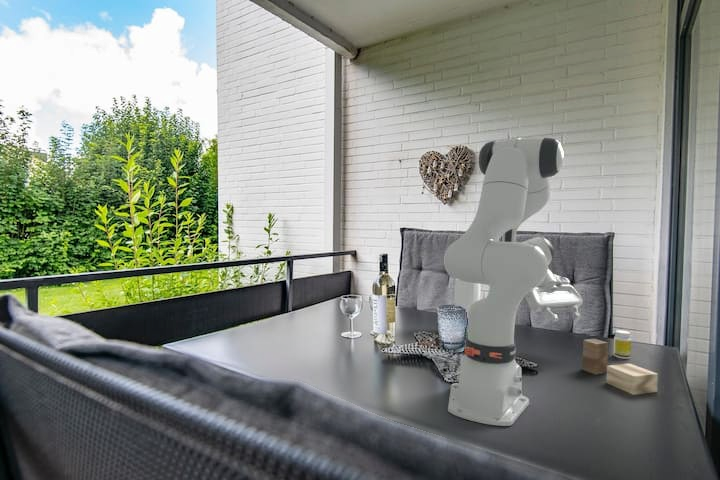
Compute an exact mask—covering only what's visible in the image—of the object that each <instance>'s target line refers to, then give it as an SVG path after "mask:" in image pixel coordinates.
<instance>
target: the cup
mask: <svg viewBox="0 0 720 480" xmlns="http://www.w3.org/2000/svg"><path fill="white" fill-rule="evenodd" d="M454 279H455V280H454V305H455V307H456V306H461V307H464V308H465V309H466V312H467V318H468V311H469V308H470V307H471V305H472V304H473V303H475V302H476V301H478V300H481V292H482V291H481V284H478V283H470V282H465V281H462V280H459V279H456V278H454Z"/></svg>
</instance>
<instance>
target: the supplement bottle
mask: <svg viewBox="0 0 720 480" xmlns="http://www.w3.org/2000/svg"><path fill="white" fill-rule="evenodd" d="M614 335H615V336H614V337H613V352H612V353H613V356H614V357H616V358H618V359H624V360H628V359H631V350H632V349H631V347H632V345H631V344H632V341H631V340H632V339H631V332H629V331H628V330H627V331H625V330H621V329H620V330H615V334H614Z"/></svg>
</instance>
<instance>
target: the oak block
mask: <svg viewBox="0 0 720 480" xmlns="http://www.w3.org/2000/svg"><path fill="white" fill-rule="evenodd" d="M658 375H659V374H658V372H654V371H651V370H649V369H646V368H643V367H640V366H638V365H635V364H632V363H621V364H611V365H607V373H606V381H605V382H606V384H608V385H611V386H612V387H615V388H618V389H619V390H622V391H623V392H626V393H628V394H630V395H633V396H634V395H635V396H636V395H644V394H649V393H657V392H658V377H659V376H658Z"/></svg>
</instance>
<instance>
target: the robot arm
mask: <svg viewBox="0 0 720 480" xmlns="http://www.w3.org/2000/svg"><path fill="white" fill-rule="evenodd" d="M564 155H565V154H564V150H563V148H562V144H561V142H560V141H559V140H558V139H555V138H551V137H550V138H549V137H544V138H527V137H526V138H520V137H518V138H507V139H503V140H492V141H489V142H486V143H485V144H484V145H483V146H482V147H481V149H480V151H479V155H478V169H479V170H480V172H481V173H482V174H483V175H484V176H483V180H482V187H481V192H480V198H479V203H478V207H477V210H476V213H475V217H474V219H473V221H472V222H471V224H470V226H469V227H468V228H467V230H466V231H465V232H464V233H463V235H462V236H460V237H459V238H458V239H457V240H455V241H454V242H451V243H450V245H448V246H447V248H446V249H445V253H444V256H443V266H444V269H445V271H446V272H447V275H448V276H450V277H451V278H454V279H459V280H462V281H465V282H470V283H478V284H480V285H488V286H489V290H488V294H487V296H486V297H484V298H482V299H481V298H480V300H478V301H476V302H475V303H473V304H472V305H471V307H470V308H469V311H468V327H467V336H466V337H465V342H464V351H463V352H464V354H463V355H462V356H461V357H460V360H459V361H460V368H459V370H460V372H459V375H457V376H456V377H455V380H456V382H455V383H452V384H451V385H450V391H449V399H448V405H447V411H448V412H449V413H450V414H452V415H454V416H456V417H459V418H461V419H464V420H469V421H472V422H476V423H479V424H484V425H490V426H497V427H498V426H502V427H507V426H508V427H510V426H512V425H513V424H514V423H515V422H516V420H517V419H518V418H519V417H520V415H521V414H522V413H524V411H525V410H526V408H527V407H528V406H529V405H530V399H529V398H528V397H527V396H525V395H523V394H522V367H521V366H520V364H518V362H517V361H516V359H515V358H516V352H517V348H516V342H515V337H514V336H515V324H516V316H517V311H518V308H519V306H520V304H521V302H522V301H523V299H524V298H525V300H526V302H527V305H528V307H529V308H530V310H532V312H542V313H543V314H544V315H545V316H546V317H548V318H549V319H550V320H551V322H553V323H554V322H558V321H559V320H560V318H559V316H558V314H556V313H554V312H552V311H561V310H569V311H570V312H571V313H572V315H571V317H572V319H573V320H574V321H575V320H580V319H581V318H582V316H581V314H580V313H579V307H580V306H582V305H583V302H584V301H583V298H582V297H581V295H580V294H579V292H578V291H577V290H576V288H575V287H574V286H573V285H571V281H570V279H569V278H567V277H563V276H560V275H558V274H555V273H553V272H552V270H551V269H550V268H549V265H550V264H551V263H552V262H553V259H554V257H555V255H556V251H555V248H554V246H553V245H552V243H551V242H550V240H549V239H547V238H546V237H543V236H537V237H533V238H529V239H527V240H525V241H521V242H519V241H516V240H517V233H518V232H517V231H518V229H519V228H520V226H521V225H522V224H523V223H525V221H527V220H528V219H529V218H531V217H532V216H534V215H535V214H537V213H538V212H540V211H541V210H542V209H544V207H545V206H546V205H547V203H549V199H550V194H551V184H550V178H551V177H554V176H555V175H557V174H558V173H559V172H560V170H561V168H562V165H563V163H564Z"/></svg>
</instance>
